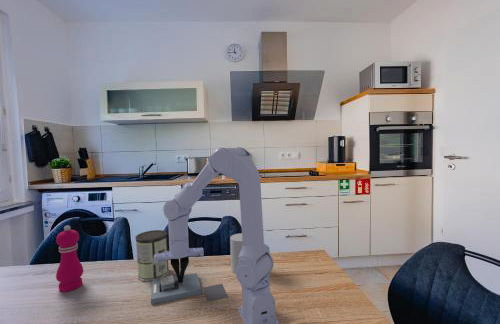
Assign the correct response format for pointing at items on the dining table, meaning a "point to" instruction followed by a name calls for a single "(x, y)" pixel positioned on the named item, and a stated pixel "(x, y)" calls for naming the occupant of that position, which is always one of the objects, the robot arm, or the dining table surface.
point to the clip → (167, 283)
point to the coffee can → (151, 254)
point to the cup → (235, 250)
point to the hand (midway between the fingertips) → (180, 281)
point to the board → (186, 289)
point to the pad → (215, 292)
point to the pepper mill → (69, 261)
